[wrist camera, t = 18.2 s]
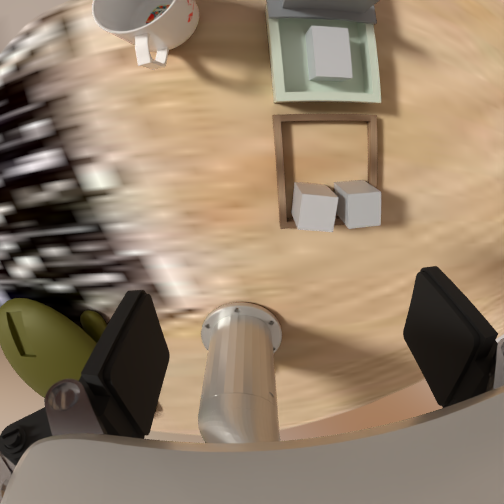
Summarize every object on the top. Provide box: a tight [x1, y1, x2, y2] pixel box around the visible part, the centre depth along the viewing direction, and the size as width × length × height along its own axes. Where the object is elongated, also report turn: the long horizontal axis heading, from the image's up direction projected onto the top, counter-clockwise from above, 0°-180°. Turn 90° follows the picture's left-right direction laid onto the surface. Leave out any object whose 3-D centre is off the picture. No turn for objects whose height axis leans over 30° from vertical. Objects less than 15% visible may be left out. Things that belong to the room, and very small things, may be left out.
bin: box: [265, 4, 381, 103], centre depth 27 cm, size 12×12×4 cm
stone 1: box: [305, 26, 353, 82], centre depth 27 cm, size 4×4×6 cm
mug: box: [92, 0, 199, 70], centre depth 23 cm, size 12×9×11 cm
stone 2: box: [291, 182, 338, 232], centre depth 34 cm, size 4×4×6 cm
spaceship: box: [0, 298, 156, 411], centre depth 47 cm, size 35×31×10 cm
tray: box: [273, 114, 377, 229], centre depth 35 cm, size 14×13×1 cm
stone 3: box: [334, 180, 381, 229], centre depth 34 cm, size 4×4×6 cm
